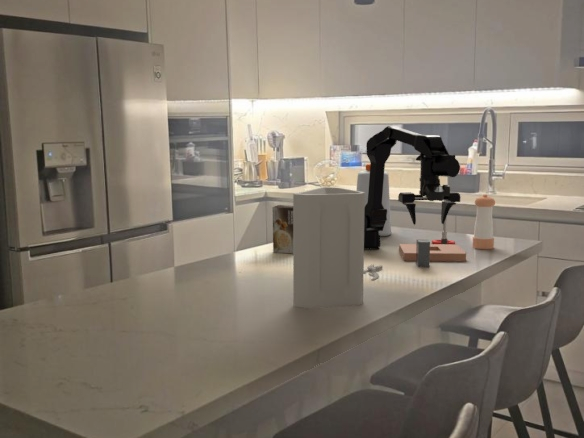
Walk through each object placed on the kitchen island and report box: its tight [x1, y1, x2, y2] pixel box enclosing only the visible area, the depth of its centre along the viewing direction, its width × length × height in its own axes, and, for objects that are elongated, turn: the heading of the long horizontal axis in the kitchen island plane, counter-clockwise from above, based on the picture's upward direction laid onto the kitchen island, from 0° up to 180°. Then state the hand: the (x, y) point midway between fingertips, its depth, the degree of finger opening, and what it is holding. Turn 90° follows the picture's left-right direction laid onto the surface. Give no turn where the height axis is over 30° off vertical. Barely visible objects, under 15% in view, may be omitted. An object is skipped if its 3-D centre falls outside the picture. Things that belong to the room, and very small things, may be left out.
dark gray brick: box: [415, 238, 431, 268], centre depth 209 cm, size 4×5×8 cm
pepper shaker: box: [472, 194, 496, 250], centre depth 238 cm, size 7×7×19 cm
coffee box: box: [271, 204, 293, 255], centre depth 231 cm, size 9×6×16 cm
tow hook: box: [431, 216, 456, 244], centre depth 246 cm, size 8×13×9 cm
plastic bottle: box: [355, 163, 392, 237], centre depth 267 cm, size 15×15×28 cm
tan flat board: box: [398, 243, 467, 262], centre depth 224 cm, size 20×16×2 cm
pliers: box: [363, 263, 383, 281], centre depth 199 cm, size 10×2×15 cm
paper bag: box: [292, 186, 365, 309], centre depth 168 cm, size 19×15×28 cm
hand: (428, 224), depth 211 cm, fingers open, 9 cm apart
